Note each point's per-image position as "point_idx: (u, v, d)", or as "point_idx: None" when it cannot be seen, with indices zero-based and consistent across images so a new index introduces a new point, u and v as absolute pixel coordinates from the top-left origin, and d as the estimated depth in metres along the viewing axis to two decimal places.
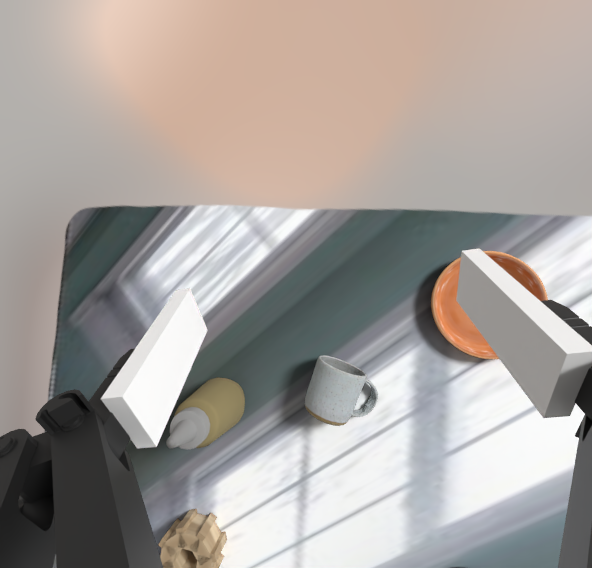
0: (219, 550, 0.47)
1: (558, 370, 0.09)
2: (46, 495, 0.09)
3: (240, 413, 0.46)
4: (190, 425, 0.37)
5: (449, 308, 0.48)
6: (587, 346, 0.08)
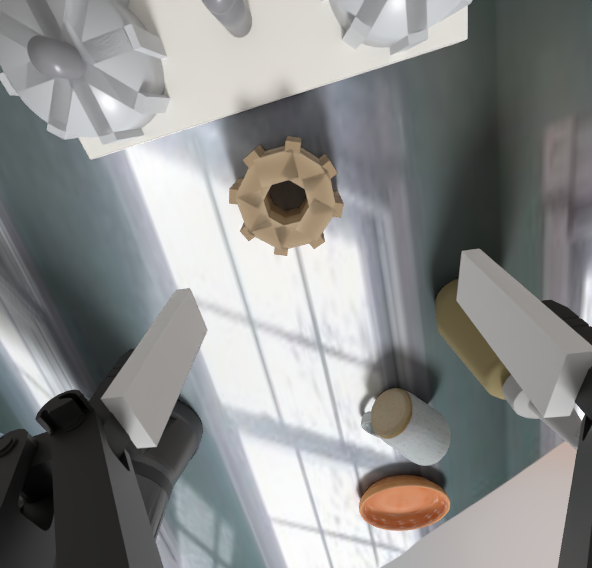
0: None
1: (558, 370, 0.09)
2: (46, 495, 0.09)
3: None
4: None
5: None
6: (587, 346, 0.08)
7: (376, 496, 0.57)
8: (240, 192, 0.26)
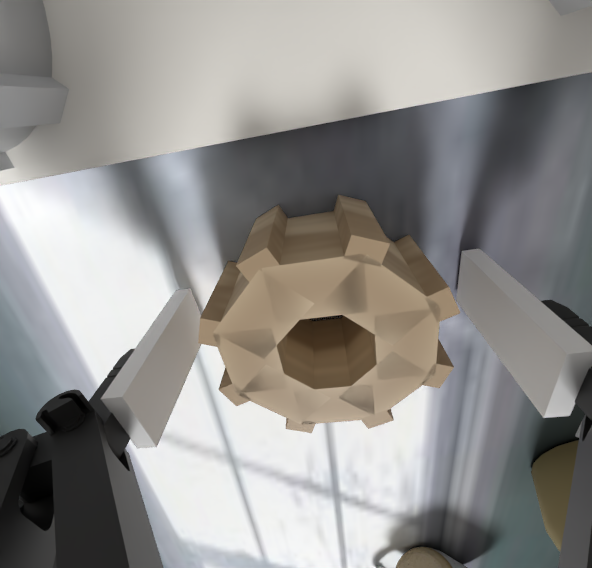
0: None
1: (558, 370, 0.09)
2: (46, 495, 0.09)
3: None
4: None
5: None
6: (587, 346, 0.08)
7: None
8: (225, 326, 0.11)
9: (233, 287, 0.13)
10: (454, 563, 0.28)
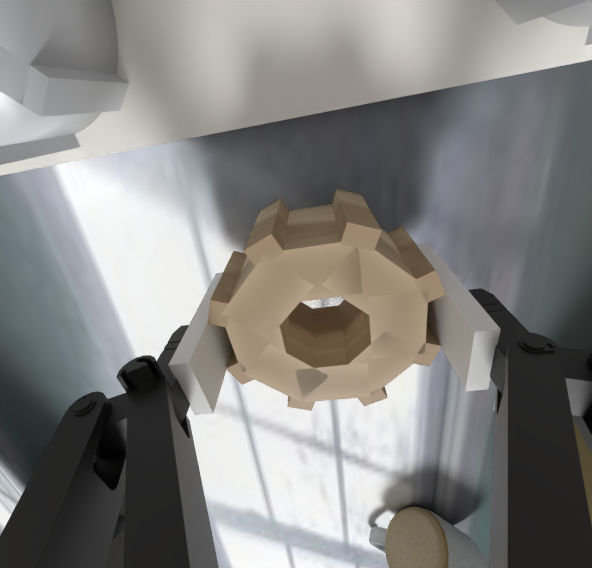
0: None
1: (471, 347, 0.10)
2: (120, 452, 0.10)
3: None
4: None
5: None
6: (493, 325, 0.10)
7: None
8: (232, 308, 0.12)
9: (239, 274, 0.14)
10: (441, 519, 0.31)
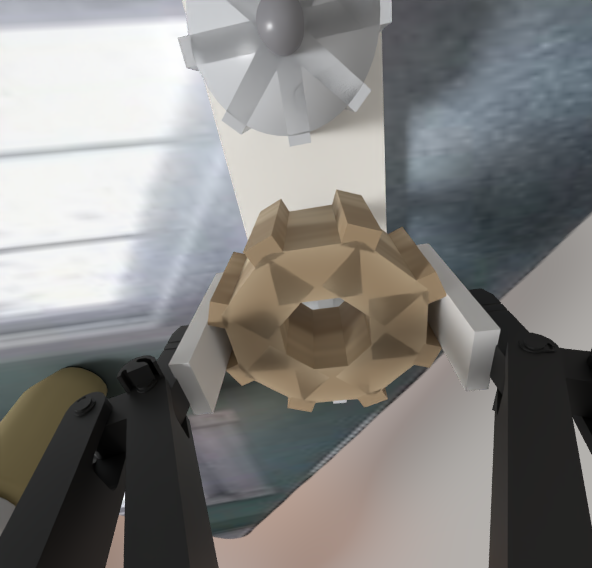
0: None
1: (471, 347, 0.10)
2: (120, 452, 0.10)
3: (14, 405, 0.31)
4: None
5: None
6: (493, 325, 0.09)
7: None
8: (232, 309, 0.12)
9: (239, 275, 0.14)
10: None
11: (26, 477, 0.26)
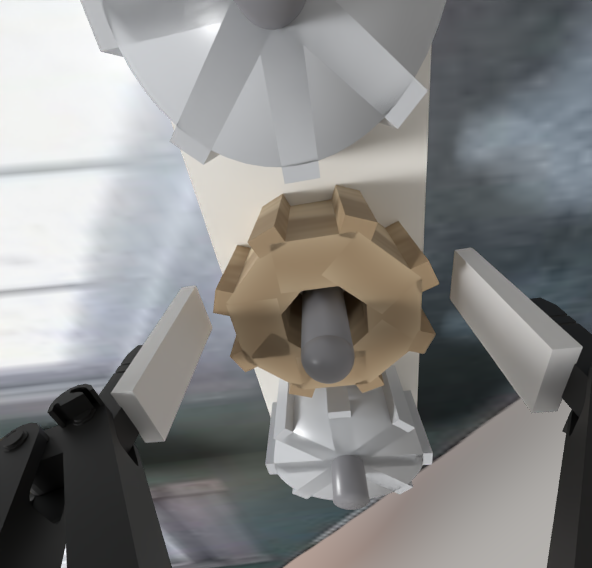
0: None
1: (545, 366, 0.09)
2: (57, 488, 0.10)
3: None
4: None
5: None
6: (572, 342, 0.08)
7: None
8: (237, 297, 0.13)
9: (242, 266, 0.15)
10: None
11: None
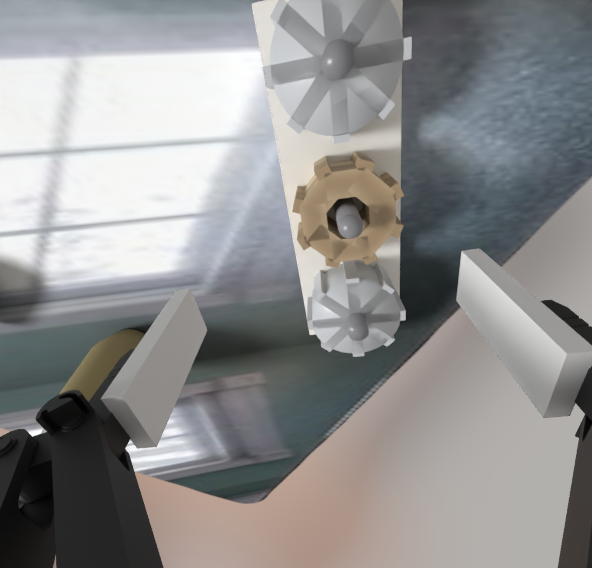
0: None
1: (558, 370, 0.09)
2: (46, 495, 0.09)
3: (86, 355, 0.37)
4: None
5: None
6: (587, 346, 0.08)
7: None
8: (305, 203, 0.26)
9: (304, 193, 0.28)
10: None
11: None
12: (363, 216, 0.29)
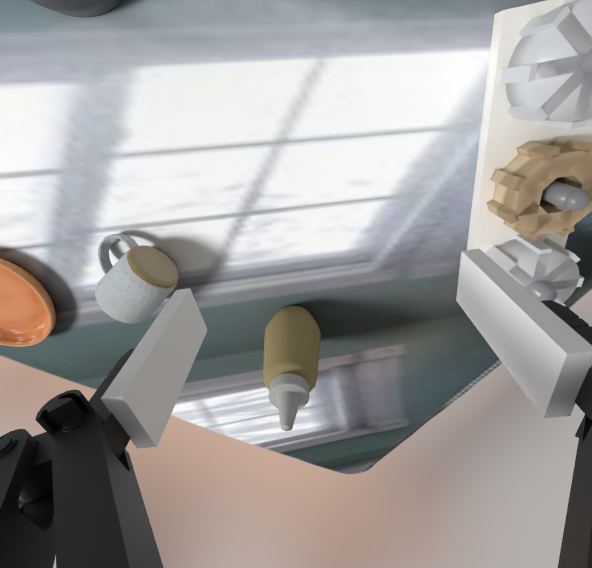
0: None
1: (558, 370, 0.09)
2: (46, 495, 0.09)
3: (269, 327, 0.42)
4: None
5: (39, 306, 0.47)
6: (587, 346, 0.08)
7: None
8: (527, 181, 0.30)
9: (513, 174, 0.32)
10: None
11: (313, 368, 0.36)
12: None
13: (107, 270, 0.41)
